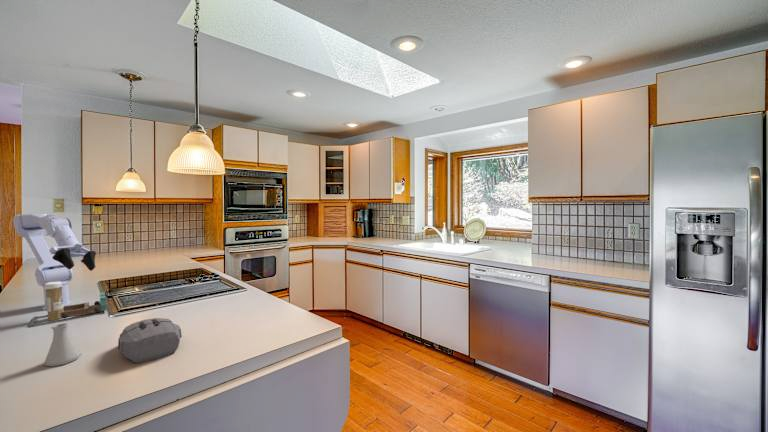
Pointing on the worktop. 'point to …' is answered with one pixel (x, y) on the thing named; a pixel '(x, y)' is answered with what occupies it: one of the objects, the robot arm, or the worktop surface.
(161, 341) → the grey rounded bag
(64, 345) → the flask
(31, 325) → the dark grey flat frame
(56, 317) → the sprinkles bottle
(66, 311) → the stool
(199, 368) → the worktop surface
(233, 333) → the worktop surface
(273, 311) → the worktop surface
